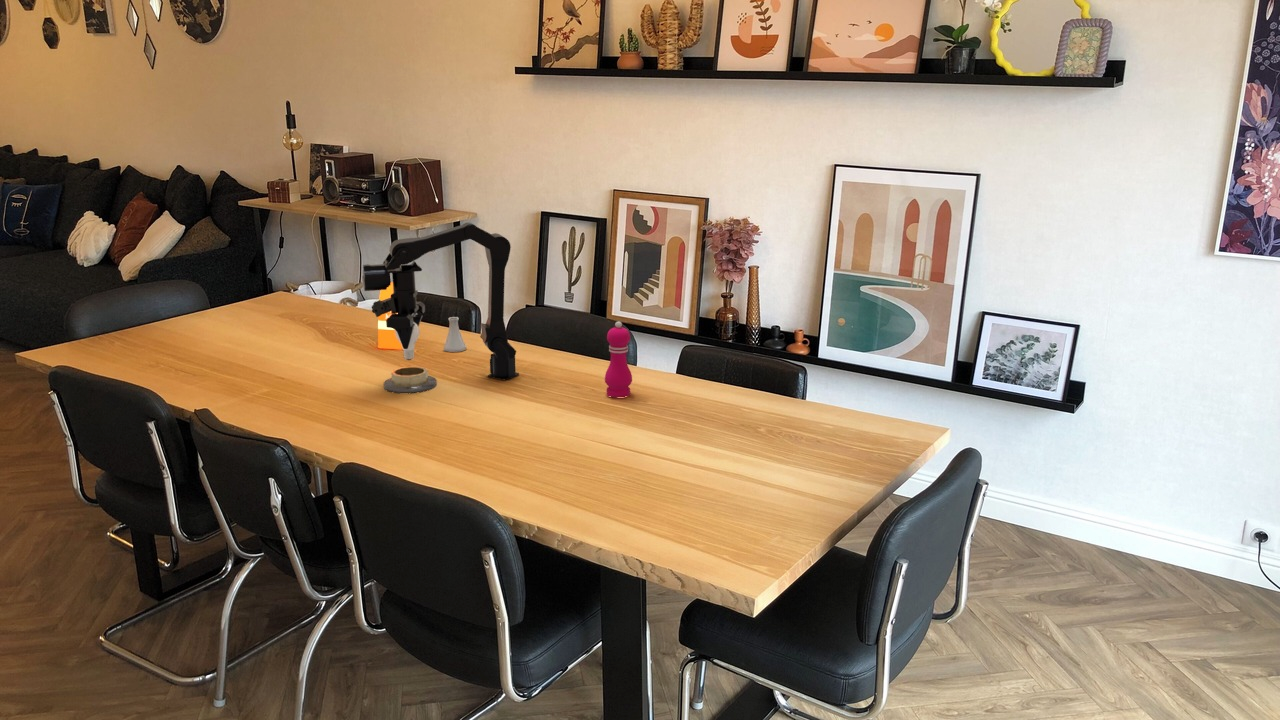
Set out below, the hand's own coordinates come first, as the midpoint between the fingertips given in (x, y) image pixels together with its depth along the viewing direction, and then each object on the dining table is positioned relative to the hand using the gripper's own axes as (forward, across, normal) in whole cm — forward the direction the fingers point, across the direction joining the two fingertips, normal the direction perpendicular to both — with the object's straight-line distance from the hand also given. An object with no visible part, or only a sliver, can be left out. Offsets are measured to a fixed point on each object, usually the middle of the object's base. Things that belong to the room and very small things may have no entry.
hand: (408, 345), depth 250 cm
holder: (+11, 0, 0) cm, 11 cm away
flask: (+12, -36, +5) cm, 38 cm away
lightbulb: (+4, 0, 0) cm, 4 cm away
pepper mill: (+12, +7, +56) cm, 58 cm away
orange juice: (+11, -40, -14) cm, 43 cm away
